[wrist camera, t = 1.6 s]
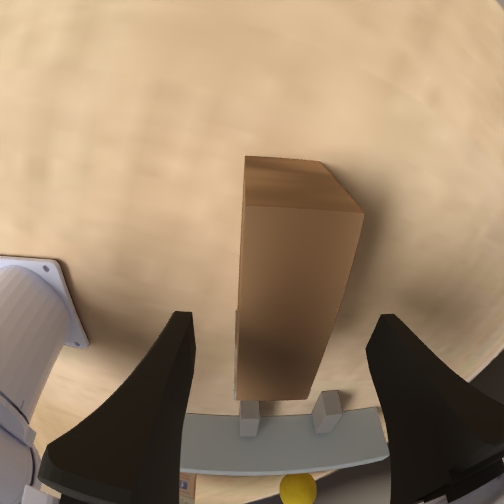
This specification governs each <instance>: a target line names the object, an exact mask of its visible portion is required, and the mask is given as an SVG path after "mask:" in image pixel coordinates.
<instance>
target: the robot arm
mask: <svg viewBox="0 0 504 504" xmlns="http://www.w3.org/2000/svg"><path fill="white" fill-rule="evenodd" d="M63 345H66V346H72V347H77V348H82V349H87V348H88V346H89V341H88V339H87V337H86V334H85V332H84V330H83V327H82V325H81V323H80V320H79V318H78V315H77V313H76V310H75V307H74V305H73V302H72V299H71V297H70V294H69V291H68V288H67V286H66V283H65V280H64V277H63V274H62V270H61V267H60V265H59V263H58V262H57V261H55V260H51V259H37V258H23V257H9V256H0V504H179V483H180V458H181V443H182V431H183V424H184V418H185V413H186V408H187V403H188V398H189V393H190V388H191V383H192V379H193V374H194V364H195V353H196V345H195V336H194V327H193V317H192V312H181V311H175V312H174V313H173V314H172V316H171V318H170V319H169V321H168V323H167V324H166V326H165V328H164V329H163V331H162V332H161V334H160V335H159V337H158V339H157V340H156V341H155V343H154V344H153V346H152V347H151V349H150V350H149V351H148V353H147V354H146V356H145V357H144V358H143V359H142V361H141V362H140V363H139V365H138V366H137V367H136V368H135V370H134V371H133V372H132V373H131V375H130V376H129V377H128V378H127V379H126V380H125V381H124V383H123V384H122V385H121V386H120V387H119V388H118V389H117V390H116V391H115V392H114V393H113V394H112V395H111V396H110V397H109V398H108V399H107V400H106V401H105V402H104V403H103V404H102V405H101V406H100V407H99V408H97V409H96V410H95V411H94V412H93V413H92V414H90V415H89V416H88V417H87V418H85V419H84V420H83V421H82V422H80V423H79V424H78V425H76V426H75V427H74V428H72V429H71V430H70V431H68V432H67V433H65V434H63V435H62V436H60V437H59V438H57V439H56V440H54V441H53V442H51V443H49V444H48V445H47V447H46V450H45V452H44V454H43V457H42V460H41V459H40V455H39V453H38V450H37V449H36V447H35V445H34V444H33V442H34V439H35V436H36V432H35V431H34V430H33V429H31V428H30V426H29V423H30V420H31V418H32V415H33V412H34V410H35V407H36V405H37V402H38V400H39V397H40V395H41V392H42V390H43V388H44V385H45V383H46V381H47V379H48V376H49V374H50V372H51V370H52V367H53V365H54V363H55V361H56V359H57V357H58V355H59V353H60V351H61V349H62V346H63ZM366 354H367V360H368V365H369V370H370V373H371V377H372V380H373V383H374V386H375V389H376V392H377V395H378V398H379V402H380V405H381V408H382V411H383V415H384V419H385V423H386V428H387V434H388V441H389V449H390V459H391V500H390V504H418V503H421V502H424V504H504V462H503V461H502V458H503V457H504V405H503V404H501V403H499V402H498V401H496V400H494V399H492V398H490V397H488V396H487V395H485V394H483V393H482V392H481V391H479V390H478V389H476V388H474V387H473V386H471V385H470V384H469V383H468V382H466V381H465V380H464V379H462V378H461V377H460V376H459V375H457V374H456V373H455V372H454V371H452V370H451V369H450V368H449V367H448V366H447V365H446V364H445V363H443V362H442V361H441V360H440V359H439V358H438V357H437V356H436V355H435V354H434V353H433V352H432V351H431V350H430V349H429V348H428V347H427V346H426V345H425V344H424V343H423V342H422V341H421V340H420V339H419V338H418V337H417V336H416V335H415V334H414V333H413V332H412V331H411V330H410V329H409V328H408V327H407V326H406V325H405V324H404V323H403V322H402V321H401V320H400V319H399V318H398V317H397V316H396V315H395V314H381V316H380V318H379V320H378V322H377V325H376V327H375V329H374V331H373V334H372V336H371V338H370V340H369V342H368V344H367V346H366ZM42 483H44V484H45V485H47V486H49V487H50V488H52V489H54V490H56V491H58V492H60V493H62V494H61V499H58V498H56V497H54V496H52V495H49V494H47V493H45V492H43V491H40V488H41V484H42Z"/></svg>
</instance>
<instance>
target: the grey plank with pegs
mask: <svg viewBox="0 0 504 504" xmlns="http://www.w3.org/2000/svg"><path fill="white" fill-rule="evenodd" d="M387 456H389V451H388V447H387V443H386V440H385V436H384V432H383V429H382V425H381V422H380V418H379V415H378V412H377V408H376V407H372V408H365V409H358V410H351V411H342V407H341V403H340V399H339V394H338V390H336V391H323V392H321V394H320V396H319V398H318V400H317V402H316V404H315V407H314V409H313V411H312V414H310V415H293V416H260V415H259V401H242V400H240V412H239V416H219V415H202V414H189V413H185V418H184V424H183V431H182V443H181V458H180V472H187V473H198V474H212V475H237V476H259V475H284V474H298V473H309V472H318V471H326V470H333V469H339V468H346V467H351V466H357V465H362V464H367V463H372V462H376V461H380V460H384V459H385V458H386V457H387Z"/></svg>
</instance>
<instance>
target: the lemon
mask: <svg viewBox="0 0 504 504" xmlns="http://www.w3.org/2000/svg"><path fill="white" fill-rule="evenodd" d="M280 496H281V499H282V502H283V503H284V504H312V503H313V502H314V500H315V497H316V484H315V481H314V479H313V477H312V476H311V475H310V474H308V473H298V474H287V475H286V476H285V477H284V478H283V479H282V481H281V483H280Z"/></svg>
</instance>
